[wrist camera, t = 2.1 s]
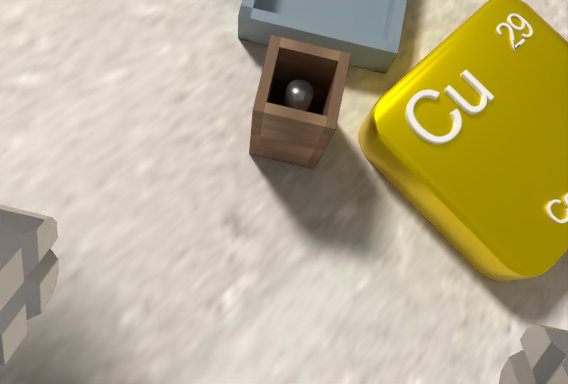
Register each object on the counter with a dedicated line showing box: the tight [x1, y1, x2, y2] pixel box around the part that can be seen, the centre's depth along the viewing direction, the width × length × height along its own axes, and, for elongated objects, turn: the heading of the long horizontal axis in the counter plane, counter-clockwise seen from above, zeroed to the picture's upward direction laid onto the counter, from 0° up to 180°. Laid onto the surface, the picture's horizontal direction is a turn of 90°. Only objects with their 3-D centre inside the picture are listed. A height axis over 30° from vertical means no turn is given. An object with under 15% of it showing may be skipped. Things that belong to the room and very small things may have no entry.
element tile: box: [359, 0, 568, 281], centre depth 36 cm, size 15×15×5 cm
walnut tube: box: [249, 35, 351, 169], centre depth 33 cm, size 5×5×8 cm
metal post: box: [283, 80, 313, 112], centre depth 33 cm, size 2×2×6 cm
